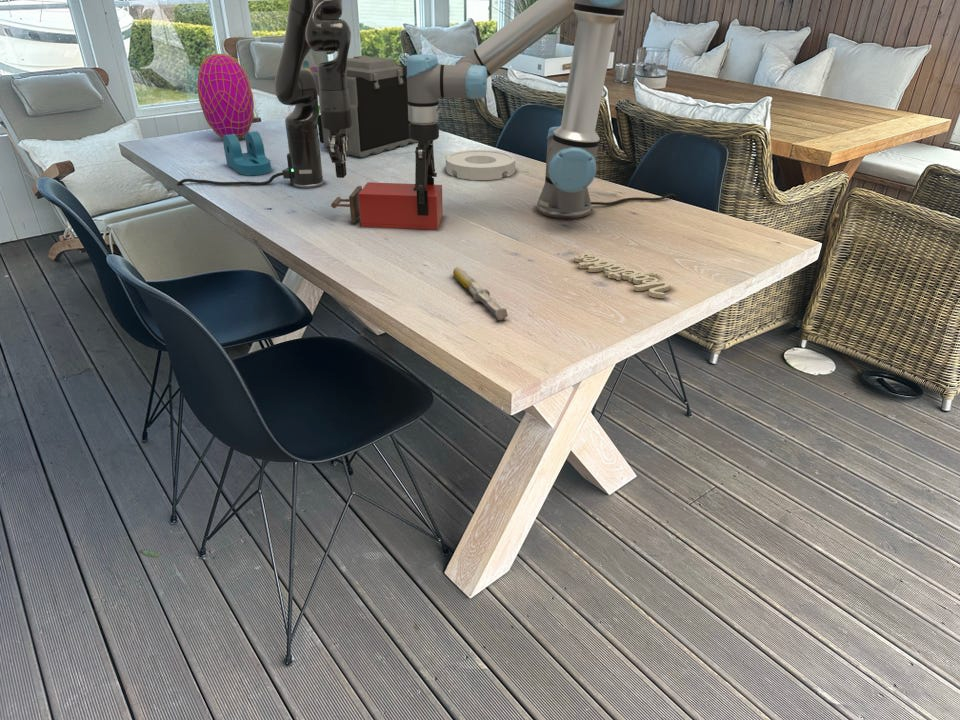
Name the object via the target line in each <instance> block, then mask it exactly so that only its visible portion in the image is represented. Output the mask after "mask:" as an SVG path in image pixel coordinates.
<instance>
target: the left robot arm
mask: <svg viewBox="0 0 960 720" xmlns="http://www.w3.org/2000/svg"><path fill="white" fill-rule="evenodd" d="M342 14H343V0H289V4H288V11H287V19H286V26H285V33H284V39H283V44H282V50H281V54H280V57H279V62H278V65H277V69H276V72H275V78H274V92H275V93H274V94H275V96H276V98H277V100H278V101H279V103H281V104H282V105H285V106H294V108H293V109H292V111H291V112H290V113H289V114H288V115H287V116H286V117H285V120H284V123H285V131H286V138H287V146H288V153H287V154H286V161H287V167H286V168H284V169H283V170H282V171H281V172H278V173H275V174H272V176H270V178H269V179H268V180H265V181H215V180H210V179H209V180H207V179H195V178H183V179H181V180H179V181H178V182H177V184H176V186H182V185H183V184H185V183H195V184H208V185H215V186H267V185H269V184H271V183H273V181H274V179H276V178H278V177H281V176H282V177H283V179H288V180H289V184H290V186H294V187H296V188H300V189H301V188H303V189H310V188H317V187H320V186H322V185H324V184H325V182H324V175H323V167H322V157H321V147H320V139H319V130H318V123H317V120H318V114H319V115H321V122H322V127H323V128H325V129H328V130H330V136H329V137H328V138H329V143H330V144H327V149H328V150H327V152H328V155H329V158H330V161H331V163H333V164H334V167H335V177H336V178H337V179H344V178H345V177H346V176H347V173H348V172H347V164H346V163H347V160H348V159H347V158H348V157H349V155H348V147H349V135H347V134H346V130H345V129H348V128H350V127H351V126H352V120H351V108H350V97H349V92H348V84H347V58H349V57H348V56H349V52H350V51H349V50H350V45H351V41H352V30H351V27H350V25H349V23H348V22H347V21H346V20H345V19H342ZM311 50H312V51H314V52H337V54H336V57H335V58H334V59H331V60H328V61H324V62H323V61H322V62H321V63H319V64H318V65H317V66H316V67H317V73H318V83H319V96H318V94H317V85H316V81H315V79H314V76H313V75H312V73H311V72H310V71H308V70H306V69H301V67H303V62H304V61H305V58H306V56H307V55H308V53H309V52H310V51H311ZM318 105H319V106H320V110H319V113H318Z"/></svg>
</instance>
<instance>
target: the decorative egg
mask: <svg viewBox="0 0 960 720" xmlns="http://www.w3.org/2000/svg"><path fill="white" fill-rule="evenodd" d="M197 94H198V101H199V104H200V107H201V110H202V113H203V116H204V119H205V120H206V122H207V124H208V126H209V127H210V128H211V130H212V131H213V132H214V133H215V134H216V135H217V136H218V137H220V138H221V139H223V137H224V135H230V134H235V135H236V136H237V138H238V140H239V139H242V138H243V137H246V133H247V132H250V129H251V126H252V124H253V119H254V111H255V110H254V108H255V107H254V106H255V101H254V95H253V91H252V87H251V84H250V81H249V78H248V75H247V74H246V71H245V69H244V68H243V66H242V65H241V64H240V63H239V62H238V60H237V59H236V58H234V57H233V56H231V55H229V54H225V53H214V54H211V55H209V56H206V57H205V59H204V60H203V61H202V63H201V64H200V67H199V70H198V74H197Z"/></svg>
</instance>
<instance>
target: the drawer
mask: <svg viewBox="0 0 960 720" xmlns="http://www.w3.org/2000/svg"><path fill="white" fill-rule="evenodd" d="M362 189H363V186H361V185H357V186H356V188H355V189H354V190H353V191H352V192H351V193H350V195H348V198H342V197H340V196H337V197H336V198H335V199H334V200H333V201H332V202H331V204H330V207H331V208H332V209H336V208H337V207H340V208H343V207H344V208H349V211H350V222H351V223H356V222H357V221H358V220H359V219H360V208H359V195H358V194H359V192H360V191H361V190H362ZM342 202H344V203H342Z"/></svg>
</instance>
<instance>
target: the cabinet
mask: <svg viewBox="0 0 960 720" xmlns="http://www.w3.org/2000/svg"><path fill="white" fill-rule="evenodd" d="M419 186H423V185H419ZM413 188H415V183H404V182H403V183H400V182H398V183H397V182H374V181H373V182H370V181H367V183H366V184H364V186H362V190H361V191H360V192H359V194H358V195H359V208H360V217H359V220H360V227H361V228H383V229H407V230H410V229H411V230H432V231H433V230H434V231H435V230H436V231H437V230H438V229H439V226H440V224H441V222H442V219H443V217H444V216H443V213H444V211H443V184H434V185H432V184H427V190H428V216H426V215H418V214H417V191H414V190H413Z"/></svg>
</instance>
